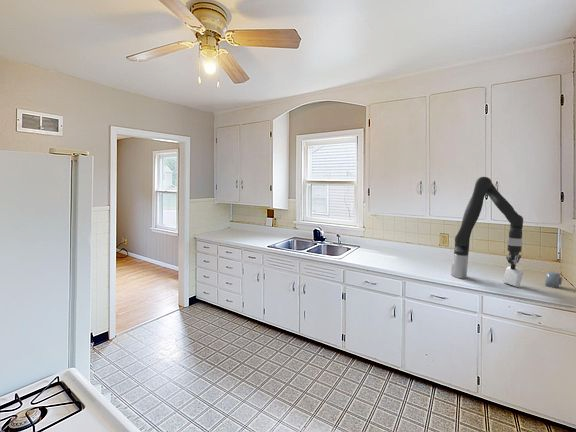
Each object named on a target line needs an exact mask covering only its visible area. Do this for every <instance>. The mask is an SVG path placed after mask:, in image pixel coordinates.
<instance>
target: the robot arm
mask: <svg viewBox="0 0 576 432" xmlns="http://www.w3.org/2000/svg"><path fill="white" fill-rule="evenodd" d="M486 195H487V196H488V197H489V198H490V200H491V201H492V202H493V205H495V207H496V208H497V209H498V210H499V211H500V212H501V214H503V216H504V217H505V218H506V220H507V221H508V222H509V224H510V225H509V232H508V240H507V248H506V249H507V251H508V252H509V253H508V256H506V260H507V262H508V264H510V267H511V269H512V270H515V268H517V267H516V266H517V264H519V261H520V260H521V258H522V255H521V254H520V253H521V252H522V247H523V226H524V218H523V216H522V215H520V214H518V212H517V211H516V210H515V209H514V208H515V207H513V206H512V205H511V204H510V202H509V201H508V200H507V199H506V198H505V197H504V196H503V195H502V194H501V193H500V191H498V189H497V188H496V187H495V184H494V183H493V181H492V180H491V178H489V177H488V176H487V177H486V176H481V177H479V178H477V179H476V180H475V182H474V188H473V191H472V196H471V197H470V199H469V201H468V204H466V205H467V206H466V207H465V210H464V212H463V213H464V214H463V217H462V220H461V225H460V227H459V230H458V232H457V234H456V235H455V237H454V251H453V262H452V264H451V272H450V273H451V274H450V275H451V276H452V277H453V278H456V279H467V278H468V265H469V251H470V239H471V235H472V231H473V228H475V225H476V223H477V221H478V219H479V217H480V215H481V212H482V210H483V204H484V200H485V196H486Z"/></svg>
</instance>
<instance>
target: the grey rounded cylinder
mask: <svg viewBox="0 0 576 432" xmlns="http://www.w3.org/2000/svg"><path fill="white" fill-rule="evenodd" d="M544 282H545V283H544V285H545V287H548V288H551V287H552V288H553V289H559V287H560V286H562V283H563V277H562V276H561V274H560V273H559V272H555V271H546V273H545V281H544Z"/></svg>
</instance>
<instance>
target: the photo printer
mask: <svg viewBox="0 0 576 432" xmlns="http://www.w3.org/2000/svg"><path fill="white" fill-rule="evenodd" d="M523 275H524V271H523V270H522V269H521V268H518V267H516V268H515V270H512V269H511V266H507V267H506V269H505V271H504V275H503V279H502V283H504V284H507V285H511V286H513V287H516V288H520V286H521V283H522V279H523Z"/></svg>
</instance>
